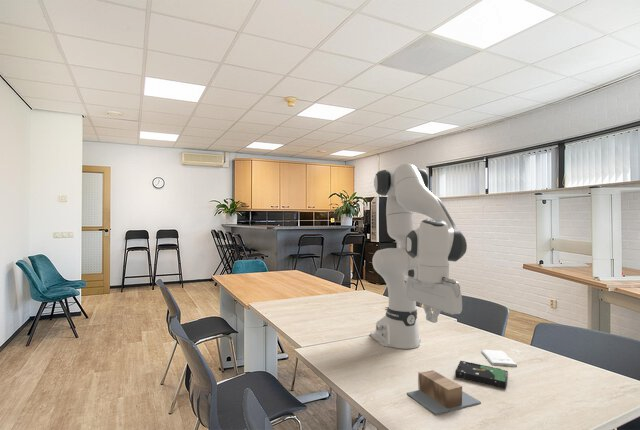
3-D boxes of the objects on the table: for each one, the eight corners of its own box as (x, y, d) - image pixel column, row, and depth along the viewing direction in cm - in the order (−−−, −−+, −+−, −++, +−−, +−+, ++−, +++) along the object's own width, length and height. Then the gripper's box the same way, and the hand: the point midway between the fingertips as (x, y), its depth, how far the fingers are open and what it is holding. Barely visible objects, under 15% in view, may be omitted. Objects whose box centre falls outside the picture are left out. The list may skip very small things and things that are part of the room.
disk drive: (455, 379, 115) (506, 390, 108) (455, 370, 115) (506, 381, 108) (459, 368, 124) (508, 377, 117) (459, 360, 124) (508, 369, 117)
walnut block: (418, 372, 106) (448, 389, 95) (431, 369, 108) (462, 386, 97) (418, 388, 106) (448, 408, 95) (431, 385, 108) (462, 404, 97)
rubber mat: (406, 393, 104) (406, 392, 104) (449, 384, 110) (449, 383, 110) (435, 415, 93) (435, 413, 93) (480, 403, 99) (480, 401, 99)
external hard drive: (503, 355, 137) (517, 368, 125) (481, 353, 138) (492, 366, 126) (503, 350, 137) (517, 363, 125) (481, 349, 138) (492, 362, 126)
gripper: (468, 280, 97) (467, 331, 97) (418, 268, 115) (417, 311, 116) (450, 281, 94) (449, 334, 94) (402, 269, 113) (401, 313, 113)
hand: (431, 321), depth 105 cm, fingers closed
